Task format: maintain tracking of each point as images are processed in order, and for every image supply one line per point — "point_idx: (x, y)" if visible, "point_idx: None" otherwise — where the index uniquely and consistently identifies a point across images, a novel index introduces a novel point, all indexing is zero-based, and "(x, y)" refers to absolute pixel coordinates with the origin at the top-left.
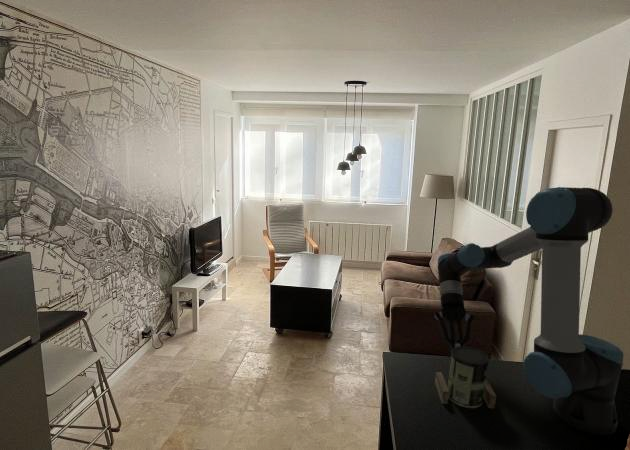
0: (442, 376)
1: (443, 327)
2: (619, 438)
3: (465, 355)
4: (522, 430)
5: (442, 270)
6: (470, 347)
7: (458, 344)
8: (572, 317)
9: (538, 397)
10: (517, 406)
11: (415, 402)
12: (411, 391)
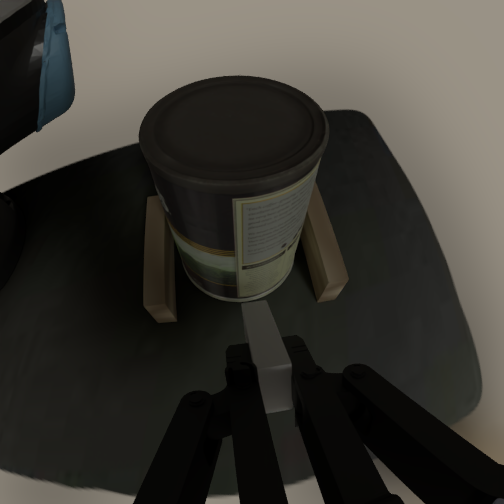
0: (323, 254)
1: (427, 426)
2: None
3: (258, 111)
4: (125, 171)
5: None
6: (211, 177)
7: (266, 363)
8: None
9: (20, 307)
10: (90, 250)
11: (371, 196)
12: (392, 236)
